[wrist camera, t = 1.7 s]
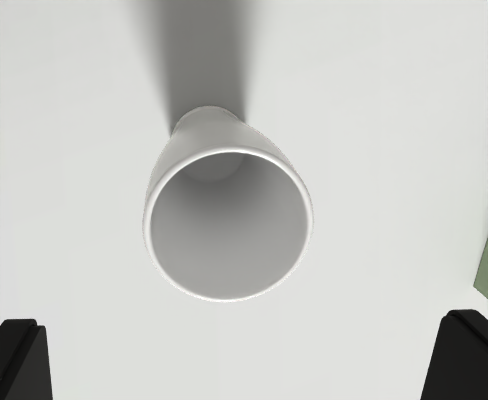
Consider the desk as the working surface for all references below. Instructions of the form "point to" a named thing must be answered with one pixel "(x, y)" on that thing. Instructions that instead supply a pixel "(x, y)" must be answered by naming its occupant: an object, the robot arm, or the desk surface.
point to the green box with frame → (483, 274)
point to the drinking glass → (225, 209)
